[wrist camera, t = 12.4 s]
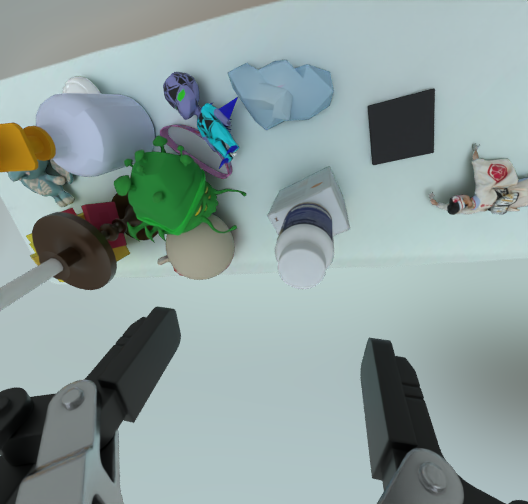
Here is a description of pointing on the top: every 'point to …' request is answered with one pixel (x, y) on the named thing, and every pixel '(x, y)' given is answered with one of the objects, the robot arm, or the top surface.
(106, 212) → the toy
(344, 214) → the small box
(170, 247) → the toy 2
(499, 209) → the figurine
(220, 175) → the headband
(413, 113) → the pad
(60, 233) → the candlestick
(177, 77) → the figurine
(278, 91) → the polygonal blue rock
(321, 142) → the top surface
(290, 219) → the pill bottle
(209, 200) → the figurine
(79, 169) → the soap bottle
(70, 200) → the stuffed animal
